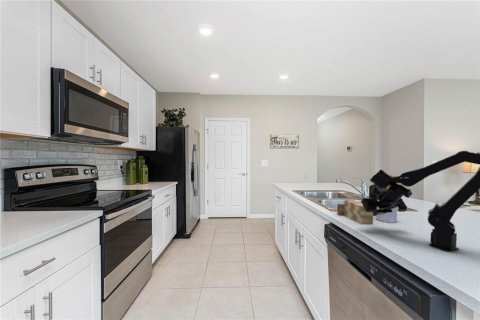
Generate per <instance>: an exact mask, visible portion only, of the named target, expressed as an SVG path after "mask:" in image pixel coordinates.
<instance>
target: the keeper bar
mask: <svg viewBox="0 0 480 320" xmlns="http://www.w3.org/2000/svg"><path fill="white" fill-rule="evenodd" d="M343 204H344V216H343V217H345V218H348V219H350V220H352V221H354V222H355V223H358V224H360V225H373V224H374V216H373V212H367V211H366V210H365V208H364V206H363V204H362V202H361V201H358V200H353V199H349V200H348V199H347V200H346V199H345V200H344V203H343Z"/></svg>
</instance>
